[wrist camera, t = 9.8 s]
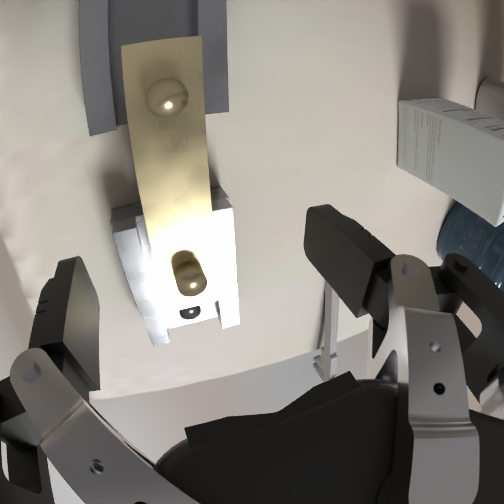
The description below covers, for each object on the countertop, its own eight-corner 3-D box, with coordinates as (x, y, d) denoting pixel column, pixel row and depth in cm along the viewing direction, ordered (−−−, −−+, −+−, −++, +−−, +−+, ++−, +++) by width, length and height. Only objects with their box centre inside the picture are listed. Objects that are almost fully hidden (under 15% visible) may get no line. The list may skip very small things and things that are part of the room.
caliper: (317, 361, 43) (337, 391, 38) (311, 364, 43) (331, 394, 38) (333, 261, 31) (368, 298, 26) (325, 264, 30) (359, 302, 26)
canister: (446, 197, 33) (544, 271, 20) (484, 183, 36) (563, 240, 22) (426, 269, 41) (500, 341, 27) (465, 245, 44) (530, 302, 30)
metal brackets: (213, -40, 11) (229, -59, 8) (229, 296, 27) (241, 323, 25) (87, -26, 9) (79, -44, 6) (146, 317, 25) (151, 346, 22)
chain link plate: (183, 47, 13) (207, 32, 8) (201, 252, 21) (226, 310, 17) (125, 55, 12) (119, 43, 7) (158, 263, 20) (171, 324, 16)
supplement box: (435, 156, 28) (523, 207, 18) (394, 167, 26) (495, 230, 17) (439, 95, 23) (539, 137, 13) (396, 97, 22) (517, 143, 12)
